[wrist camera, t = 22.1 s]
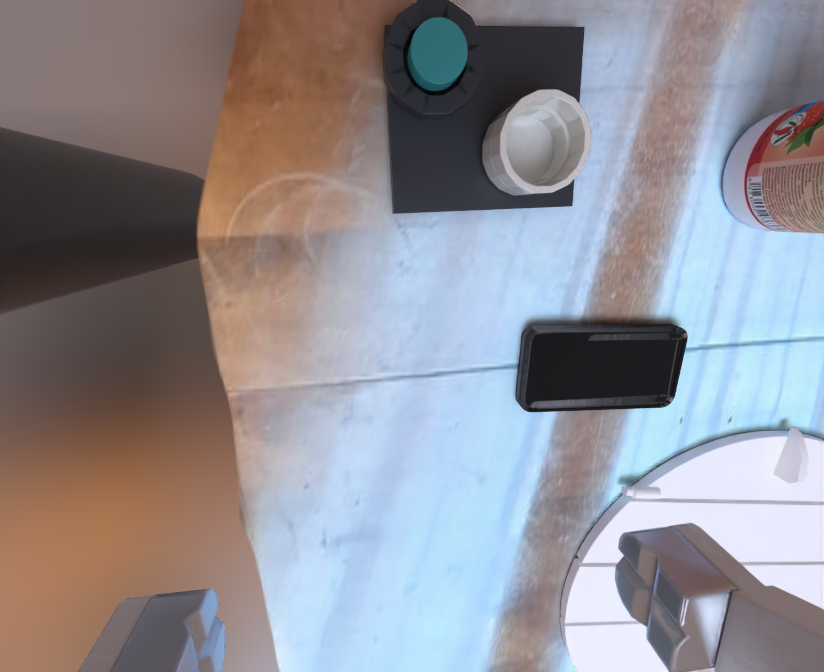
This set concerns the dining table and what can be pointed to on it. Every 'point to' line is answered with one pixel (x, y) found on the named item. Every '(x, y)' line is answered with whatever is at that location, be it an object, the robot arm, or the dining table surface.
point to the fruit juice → (779, 172)
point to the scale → (468, 108)
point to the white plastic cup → (537, 144)
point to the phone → (599, 366)
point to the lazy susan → (720, 518)
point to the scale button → (437, 54)
